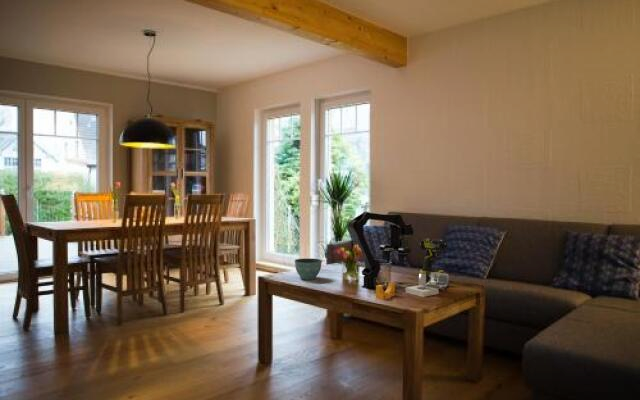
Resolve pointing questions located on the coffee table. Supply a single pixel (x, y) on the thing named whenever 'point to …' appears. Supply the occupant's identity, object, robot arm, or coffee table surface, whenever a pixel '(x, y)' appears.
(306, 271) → the flower pot
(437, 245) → the power drill
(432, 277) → the phone holder
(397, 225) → the robot arm
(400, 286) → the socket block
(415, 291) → the rack block
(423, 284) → the steel peg
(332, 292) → the coffee table surface
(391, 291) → the pipe clamp
